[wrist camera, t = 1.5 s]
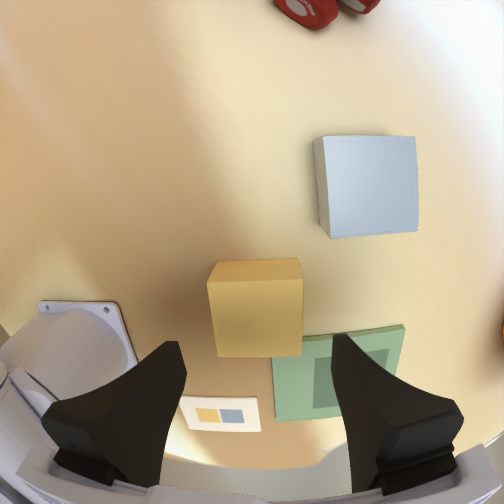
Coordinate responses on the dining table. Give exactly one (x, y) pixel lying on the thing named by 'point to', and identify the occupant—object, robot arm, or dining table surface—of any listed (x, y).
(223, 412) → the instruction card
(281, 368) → the plate
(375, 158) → the brick
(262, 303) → the brick
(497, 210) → the dining table surface
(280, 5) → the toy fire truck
